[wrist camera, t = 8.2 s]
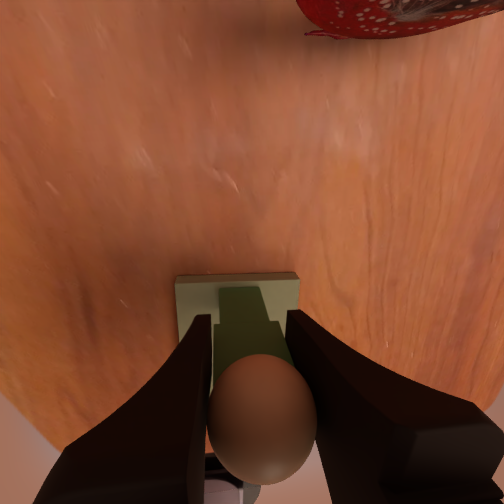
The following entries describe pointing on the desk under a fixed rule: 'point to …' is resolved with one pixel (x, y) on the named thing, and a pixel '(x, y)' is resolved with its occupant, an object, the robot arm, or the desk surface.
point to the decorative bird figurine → (391, 16)
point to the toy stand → (207, 287)
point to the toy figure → (257, 394)
